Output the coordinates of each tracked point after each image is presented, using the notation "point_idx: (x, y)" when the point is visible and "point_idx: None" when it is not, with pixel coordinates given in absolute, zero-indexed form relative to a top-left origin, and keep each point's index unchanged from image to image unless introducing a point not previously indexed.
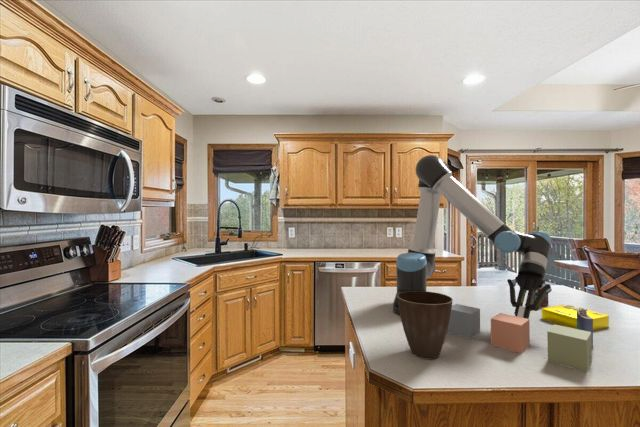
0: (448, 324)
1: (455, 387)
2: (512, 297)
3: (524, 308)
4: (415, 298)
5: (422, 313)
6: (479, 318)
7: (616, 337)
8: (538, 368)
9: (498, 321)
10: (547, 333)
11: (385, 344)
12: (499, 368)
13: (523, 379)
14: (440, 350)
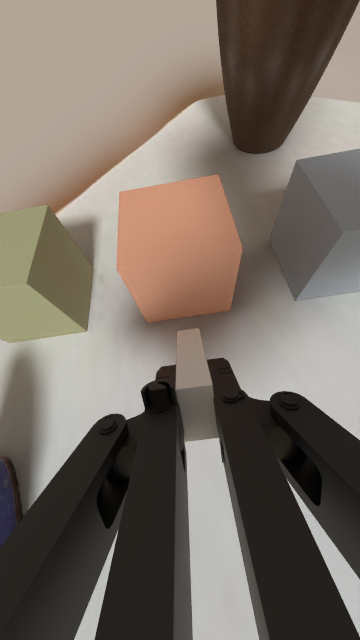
0: (224, 56)
1: (166, 124)
2: (327, 438)
3: (176, 381)
4: None
5: None
6: (316, 261)
7: None
8: (102, 227)
9: (191, 183)
10: (51, 210)
11: (324, 117)
12: (150, 184)
13: (112, 185)
14: (232, 130)
